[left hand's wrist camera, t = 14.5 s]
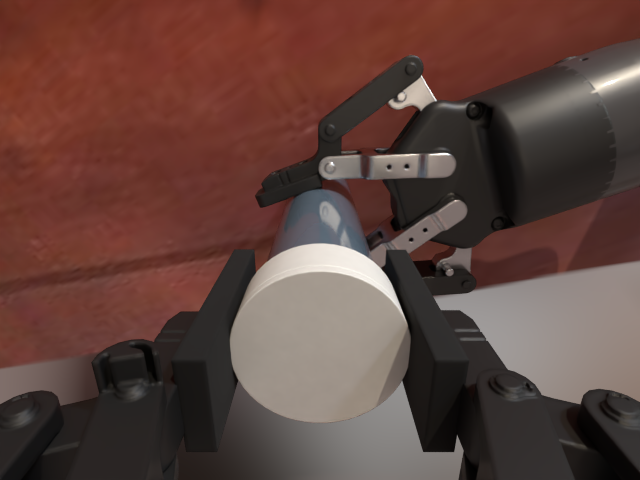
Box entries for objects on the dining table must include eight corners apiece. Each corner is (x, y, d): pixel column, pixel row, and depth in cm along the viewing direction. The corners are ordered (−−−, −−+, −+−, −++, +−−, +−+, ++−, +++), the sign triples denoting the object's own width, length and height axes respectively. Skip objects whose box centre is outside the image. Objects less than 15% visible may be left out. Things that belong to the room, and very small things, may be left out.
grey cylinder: (292, 225, 29) (254, 401, 12) (288, 167, 27) (236, 276, 10) (350, 222, 29) (394, 396, 12) (349, 164, 27) (396, 268, 10)
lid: (367, 392, 14) (374, 439, 12) (227, 357, 13) (211, 401, 11) (421, 268, 12) (441, 300, 10) (264, 222, 11) (253, 247, 9)
